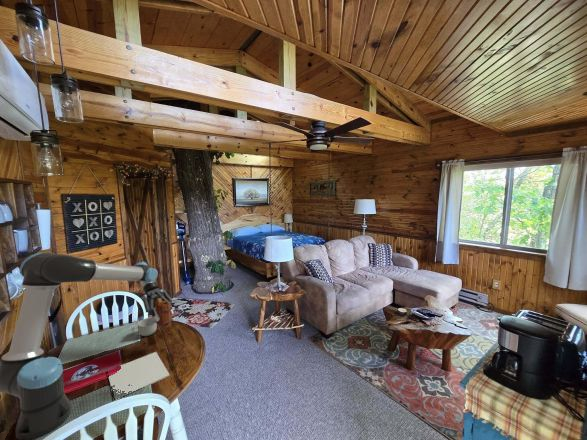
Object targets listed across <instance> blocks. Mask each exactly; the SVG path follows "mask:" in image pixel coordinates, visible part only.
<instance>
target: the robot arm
mask: <svg viewBox="0 0 587 440" xmlns="http://www.w3.org/2000/svg"><path fill="white" fill-rule="evenodd" d="M19 273H20V275H21V276H22V277H23V280H22V283H21V286H22V287H23V288H24V289H25V292H24V295H23V299H22V303H21V307H20V310H19V313H18V318H17V322H16V325H15V328H14V332H13V335H12V336H13V337H12V340H11V343H10V346H9V351H8V352H6V353H5V354H3V355H2V356H1V359H0V393H1V392H2V393H5V394H8V395H10V396H12V397H13V396H14V397H17V398H19V403H20V404H19V405H20V415H19V417H18V420H17V423H16V427H15V438H16V439H18V440H33V439H37V438H39V437H42V436H45V435H46V434H49V433H51V432H52V431H53V430H55V429H57V428H58V427H60V426H61V425H62V424H63V423H64V422H65V421H66V420H67V419H68V418H69V417H70V415H71V413H72V409H73V407H72V404H71V401H70V400H69V398H68V397H67V395H66V394H65V386H64V375H63V374H64V373H63V370H64V368H63V365H62V364H63V363H62V361H61V359H59V358H57V357H55V356H46V357H44V353H45V350H44V349H42V348H41V345H42V341H43V337H44V333H45V328H46V325H47V321H48V317H49V312H50V309H51V306H52V301H53V297H54V294H55V290H56V289H57V288H58V287H60V286H62V285H61V284H62V283H83V282H84V283H85V282H90V281H91V280H93V281H94V280H96V281H99V280H100V281H123V282H124V281H128V282H129V281H130V282H139V284H140V286H141V287H142V290H143V291H144V294H143V295H142V296H141V297H140V299H141V300H142V302H143V307H144V310H145V313H150V314H151V316H152V318H155V319H156V321H157V322H158V321H159V320H160V318H159V316H158V314H157V312H156V308H155V309H154V299H158V298H161V299H162V301H169V302H170V306H171V307H172V309H171V311H170V317H172V316H173V315H174V311H173V306H172V303H173V299H172V298H171V297H170V295H169V293H167V290H166V288H163V289H160V288H159V285H158V283H157V281H156V280H157V278H158V274H159V273H158V270H157V269H156V268H153V267H149V266H148V264H147V262H145V261H141V262H140V261H139V262H136V263H135V264H134V265H122V264H113V263H112V264H111V263H102V262H95V260H93V259H86V258H81V257H78V256H72V255H69V254H59V253H53V252H52V253H51V252H37V253H34V254H32V255H30V256H28V257H26V258H25V259H24V260H23V261H22V262H21V264H20V266H19ZM148 299H149V300H148ZM148 301H149V303H148Z"/></svg>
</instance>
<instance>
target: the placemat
mask: <svg viewBox="0 0 587 440" xmlns="http://www.w3.org/2000/svg"><path fill="white" fill-rule="evenodd" d="M120 366H121V369H120V370H119V371H117V373H115V374H113V375H111V376H109V377H108V380H109V384H110V387H111V386H113V385H115V387H113V389H116V390H118V389H119V390H118V391H119V392H120V390H121V393H122V391H125V392H124V393H127V394H128V392H129V391H132V392H133V391H136V390H138V389H140V388H142V389H144V388H143V387H145V388H146V386H147V387H148V385H149V386H151V385H153V384H155V383H157V382H159V381H162V380H163V379H166V378H168V377H170V376H171V375H170V373H169V371H168V369H167V368H166V366H165V364H164V363H163V361H162V359H161V358H160V356H159V354H158V352H157V351H155V352H151V353H149V354H146V355H144V356H141V357H139V358H137V359H134V360H132V361H129V362H126V363H123V364H120ZM129 384H130V386H128V385H129ZM131 385H132V386H131ZM140 390H141V389H140ZM113 391H114V390H113ZM118 391H117V392H116V393H118ZM138 391H139V390H138ZM136 392H137V391H136ZM130 393H131V392H130ZM118 394H120V393H118ZM123 398H124V397H122V398H121V399H123ZM118 399H119V400H121V399H120V398H118ZM116 400H117V399H116ZM113 401H114V402H116V401H115V400H114V399H113ZM117 401H118V400H117Z"/></svg>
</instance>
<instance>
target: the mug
mask: <svg viewBox="0 0 587 440" xmlns="http://www.w3.org/2000/svg"><path fill="white" fill-rule="evenodd" d="M155 299H156V300H155V310H156V312H157V314H158V316H159V318H160V320H159V321H158V322H157V321H155V322H156V323H157V327H158V328H159V329H166V328H168V327H170V326H171V325H172V324H171V323H172V322H173V321H174V319H173V318H172V316H170V311H171V309H172V310H173V306H172V305H171V306H172V307H171V306H170V302H169V301H162V299H161V298H155Z"/></svg>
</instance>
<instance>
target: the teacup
mask: <svg viewBox="0 0 587 440" xmlns="http://www.w3.org/2000/svg"><path fill="white" fill-rule="evenodd" d="M155 321H156V319H155V317H147V318H146V317H145V318H143V319H141V320H139V321H138V322H137V325H135V326H133V327H132V330H131V331H132V333H133V334H137V335H140V336H143V337H148V336H150V335H151V336H152V335H153V334H154V333H155V332H156V331H157V329H158V328H157V327H158V325H157V323H156V322H155ZM135 329H137V331H135Z"/></svg>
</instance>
